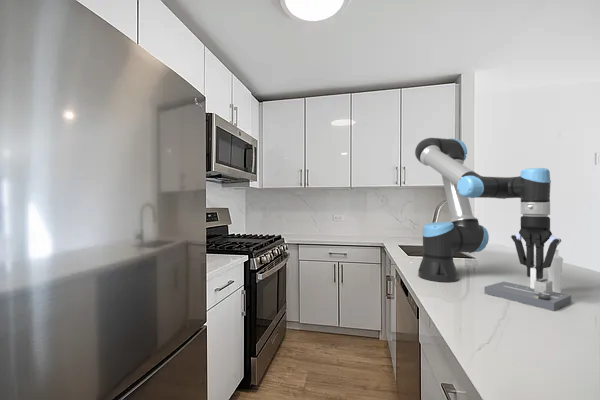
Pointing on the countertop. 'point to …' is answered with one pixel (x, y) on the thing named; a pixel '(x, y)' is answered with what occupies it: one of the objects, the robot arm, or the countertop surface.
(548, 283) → the fader
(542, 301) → the console
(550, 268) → the perfume bottle
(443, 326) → the countertop surface
